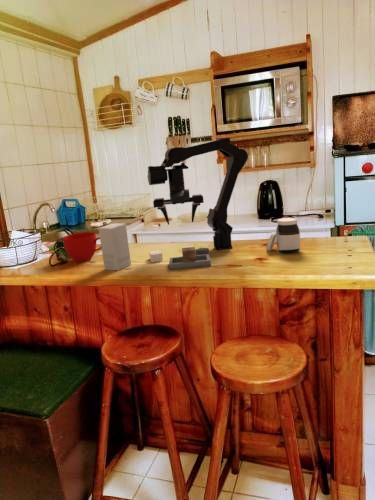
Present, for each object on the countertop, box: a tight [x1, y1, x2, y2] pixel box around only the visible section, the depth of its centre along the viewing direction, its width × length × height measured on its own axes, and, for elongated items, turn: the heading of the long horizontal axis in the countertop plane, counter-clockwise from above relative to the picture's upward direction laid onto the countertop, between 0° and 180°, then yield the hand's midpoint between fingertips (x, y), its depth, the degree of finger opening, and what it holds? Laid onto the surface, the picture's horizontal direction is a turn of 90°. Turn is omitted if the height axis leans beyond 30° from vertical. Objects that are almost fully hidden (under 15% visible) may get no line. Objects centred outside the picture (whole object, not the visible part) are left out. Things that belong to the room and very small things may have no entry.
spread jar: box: [266, 217, 301, 255], centre depth 144 cm, size 12×11×12 cm
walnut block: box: [181, 246, 196, 262], centre depth 139 cm, size 4×4×5 cm
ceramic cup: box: [62, 231, 102, 263], centre depth 161 cm, size 13×17×10 cm
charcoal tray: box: [168, 253, 212, 271], centre depth 140 cm, size 14×9×2 cm, turn 91°
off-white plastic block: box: [148, 249, 164, 263], centre depth 151 cm, size 4×6×3 cm, turn 14°
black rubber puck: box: [195, 247, 211, 258], centre depth 148 cm, size 5×5×3 cm
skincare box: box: [98, 222, 132, 271], centre depth 144 cm, size 8×7×16 cm
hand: (180, 223), depth 154 cm, fingers open, 9 cm apart
